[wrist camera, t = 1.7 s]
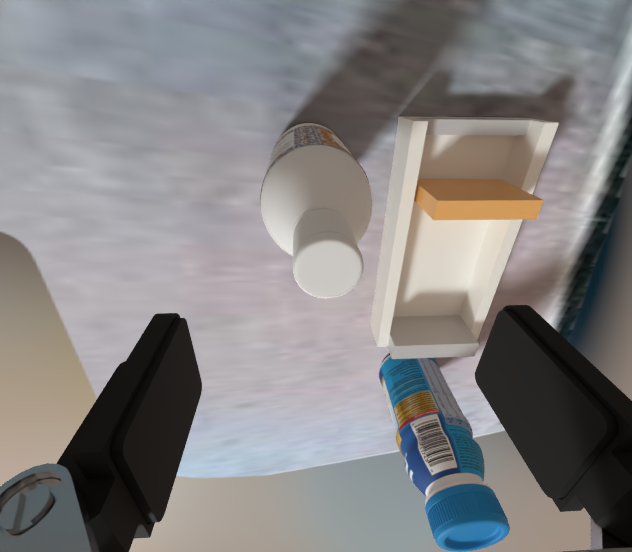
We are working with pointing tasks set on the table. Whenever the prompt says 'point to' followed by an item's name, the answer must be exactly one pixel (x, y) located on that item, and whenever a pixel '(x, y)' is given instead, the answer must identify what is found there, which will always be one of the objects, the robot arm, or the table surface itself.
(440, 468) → the beverage bottle
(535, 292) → the table surface
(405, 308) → the pusher lane
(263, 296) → the table surface
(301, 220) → the bath foam
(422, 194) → the orange rectangular block
